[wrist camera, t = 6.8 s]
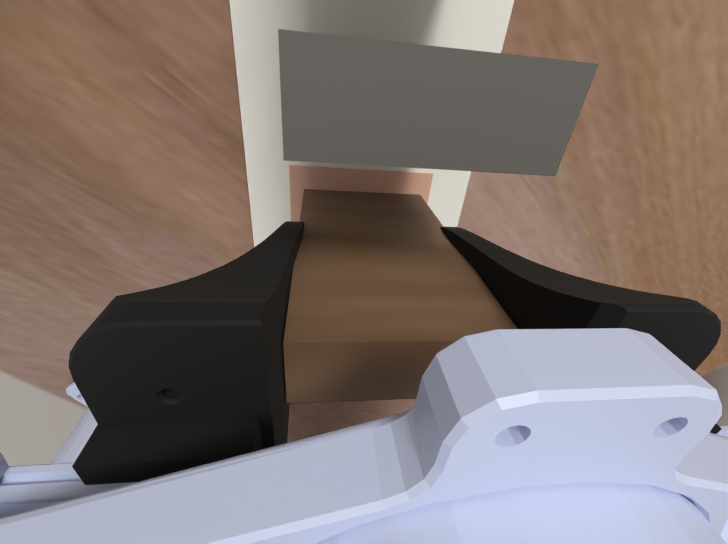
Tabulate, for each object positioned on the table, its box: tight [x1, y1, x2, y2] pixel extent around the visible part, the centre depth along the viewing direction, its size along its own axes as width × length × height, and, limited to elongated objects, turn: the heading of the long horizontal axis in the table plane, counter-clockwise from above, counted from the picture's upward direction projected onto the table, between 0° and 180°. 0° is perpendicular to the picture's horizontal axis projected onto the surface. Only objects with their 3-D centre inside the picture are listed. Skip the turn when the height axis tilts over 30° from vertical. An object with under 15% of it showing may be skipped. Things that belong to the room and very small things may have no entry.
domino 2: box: [283, 189, 517, 403], centre depth 11 cm, size 2×5×9 cm, turn 85°
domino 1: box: [278, 29, 598, 176], centre depth 9 cm, size 2×5×9 cm, turn 85°
